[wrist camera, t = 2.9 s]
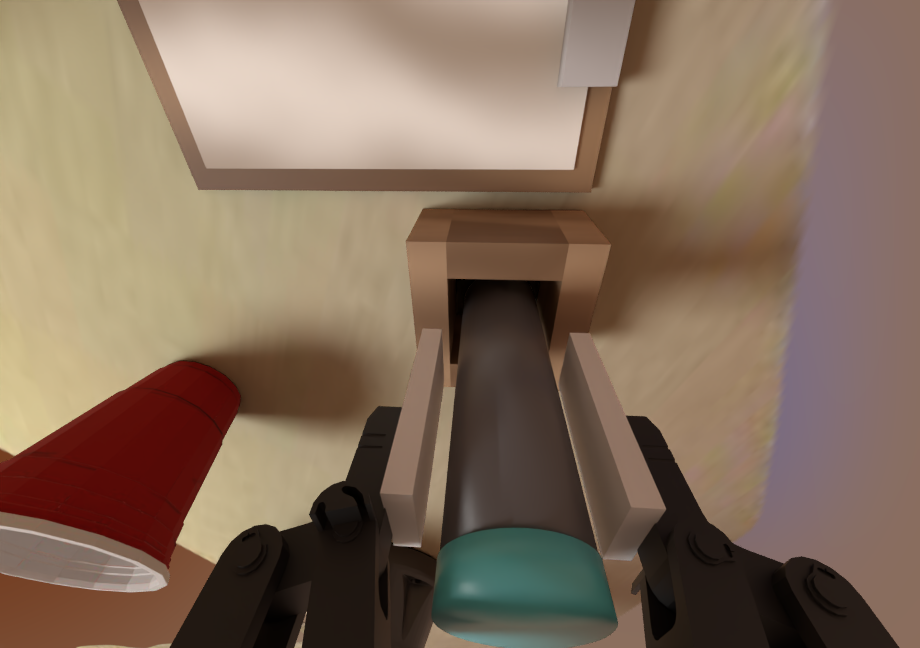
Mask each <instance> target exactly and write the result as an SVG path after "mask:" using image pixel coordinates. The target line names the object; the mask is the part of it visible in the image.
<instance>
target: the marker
mask: <svg viewBox="0 0 920 648" xmlns="http://www.w3.org/2000/svg"><path fill="white" fill-rule="evenodd" d="M431 618H432V620H433V622H434V623H435V625H437V626H438V627H439V628H440V629H442V630H443V631H445V632H447V633H449V634H451V635H453V636H456V637H458V638H461V639H464V640H468V641H471V642H475V643H480V644H485V645H490V646H497V647H505V648H568V647H575V646H580V645H585V644H589V643H593V642H596V641H599V640H601V639H603V638H606V637H607V636H609V635H611V634H612V633H613V632H614V631H615V630H616V628H617V626H618V621H617V617H616V613H615V609H614V605H613V601H612V597H611V593H610V589H609V585H608V581H607V577H606V573H605V569H604V565H603V561H602V558H601V556H600V555H599V553H598V551H597V547H596V543H595V539H594V535H593V531H592V527H591V522H590V518H589V514H588V510H587V506H586V502H585V498H584V494H583V490H582V486H581V482H580V478H579V474H578V470H577V466H576V462H575V458H574V454H573V450H572V445H571V441H570V437H569V433H568V429H567V425H566V421H565V417H564V413H563V409H562V405H561V401H560V397H559V393H558V389H557V385H556V381H555V377H554V373H553V368H552V364H551V360H550V356H549V352H548V348H547V344H546V340H545V336H544V332H543V328H542V324H541V320H540V316H539V312H538V308H537V304H536V300H535V296H534V292H533V290H532V288H531V286H530V285H529V284H528V282H527V281H525V280H494V279H476V280H475V281H474V282H473V283H472V284H471V285H470V286H469V288H468V289H467V291H466V294H465V297H464V305H463V316H462V326H461V337H460V347H459V358H458V368H457V378H456V389H455V399H454V410H453V420H452V431H451V441H450V451H449V462H448V472H447V483H446V493H445V504H444V514H443V524H442V535H441V545H440V552H439V553H438V556H437V564H436V573H435V583H434V593H433V603H432V613H431Z"/></svg>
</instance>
